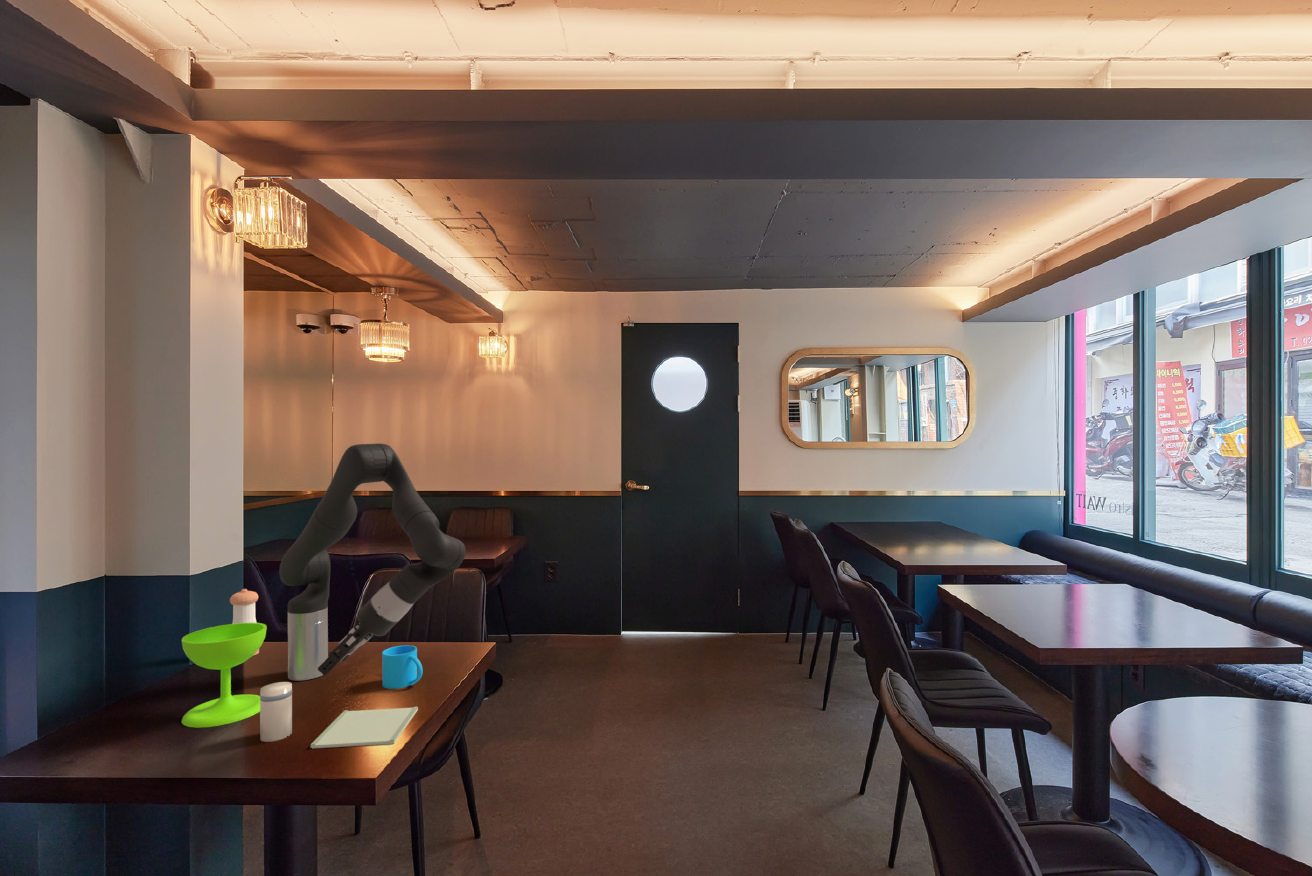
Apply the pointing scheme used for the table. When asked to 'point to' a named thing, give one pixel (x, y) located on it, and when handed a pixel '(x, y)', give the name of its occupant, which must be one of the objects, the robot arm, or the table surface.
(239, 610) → the salt shaker
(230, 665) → the wineglass
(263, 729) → the cream domed container
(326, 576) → the robot arm
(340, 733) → the mat
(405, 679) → the mug
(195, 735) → the table surface
